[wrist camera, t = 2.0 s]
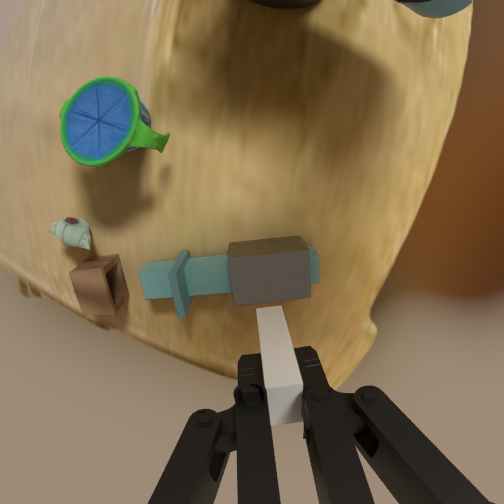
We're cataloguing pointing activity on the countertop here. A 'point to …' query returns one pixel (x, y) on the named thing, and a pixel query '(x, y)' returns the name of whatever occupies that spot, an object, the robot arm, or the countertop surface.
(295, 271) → the sleeve
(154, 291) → the tube
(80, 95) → the snack cup
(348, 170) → the countertop surface
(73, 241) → the robot head
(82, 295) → the socket block
